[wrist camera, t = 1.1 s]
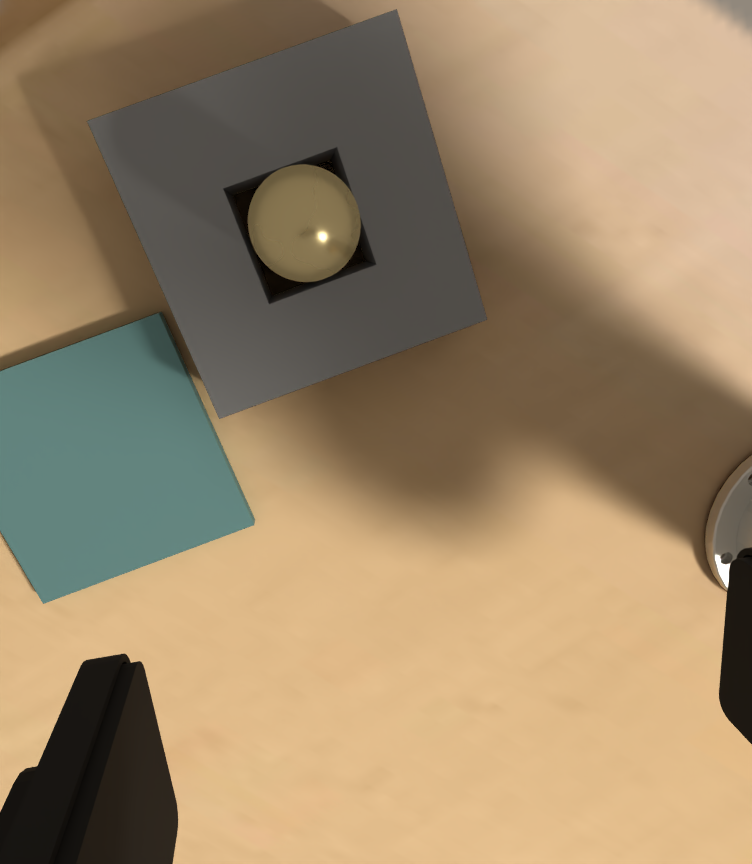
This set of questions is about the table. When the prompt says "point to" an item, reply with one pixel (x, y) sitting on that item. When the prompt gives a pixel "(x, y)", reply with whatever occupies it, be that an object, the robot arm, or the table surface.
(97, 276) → the table surface
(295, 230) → the peg
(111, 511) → the mat
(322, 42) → the block
